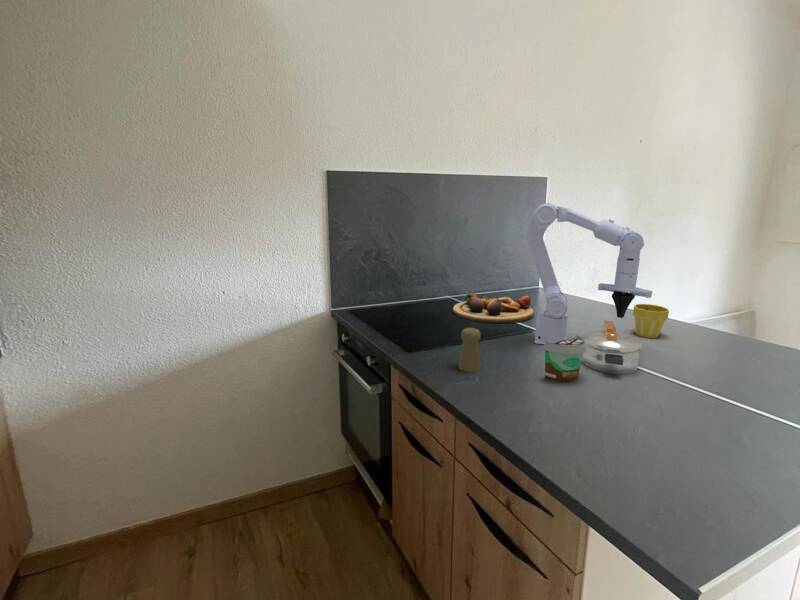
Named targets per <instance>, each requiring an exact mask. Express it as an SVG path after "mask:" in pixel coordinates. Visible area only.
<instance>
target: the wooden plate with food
mask: <svg viewBox="0 0 800 600" xmlns="http://www.w3.org/2000/svg"><path fill="white" fill-rule="evenodd" d="M530 305H531V297H530V295H523V296H519V298H517V299H516V301H514V300H513V299H512V298H511V297H508V296H503V297H502V296H501V297H497V298H490V297H486V296H485V295H481V296H480V298H479V297H478V296H477V294H476V293H475V292H471V293H466V295H465V297H464V301H462V302H457V303H456V304H454V306H453V307H452V313H453V314H454V315H456V316H457V317H460V318H463V319H464V320H469V321H474V322H479V323H487V324H488V323H490V324H491V323H492V324H506V323H507V324H509V323H519V322H524V321H527V320H529V319H531V318H532V317H533V316H534V315H535V311H534V309H533V308H532V307H531V306H530Z"/></svg>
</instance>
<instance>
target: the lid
mask: <svg viewBox="0 0 800 600" xmlns="http://www.w3.org/2000/svg"><path fill="white" fill-rule="evenodd" d="M602 327H603V330H604V331H602V330H599V331H598V330H597V331H588V332H585V333H584V334H583V337H582V338H583V339H584V340H585V343H586V344H587V345H589V346H591V347H594V348H597V349H601V350H605V351H611V352H620V353H630V352H637V351H639V350H640V351H641V350H642V346H643V342H642V341H641V340H639V339H638V338H636V337H634V336H631V335H628V334H624V333H619V332H616V331H617V329H616V326H615V324H614V321H613V320H603V325H602ZM640 351H639V352H640Z"/></svg>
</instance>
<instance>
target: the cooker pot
mask: <svg viewBox="0 0 800 600" xmlns="http://www.w3.org/2000/svg"><path fill="white" fill-rule="evenodd" d="M640 351H641V350H639V351H637V352H630V353H620V352H611V351H605V350H601V349H597V348H594V347H591V346H589V345H587V344H586V351H585V352H583V355H582V360H581V363H582V362H583V363H582V364H584V366H586V367H588V368H590V369H592V370H595V371H599V372H602V373H606V374H607V373H608V374H613V375H628V374H633V373H635V372H636V371H637V369H638V363H639V358H640V357H639V356H640Z"/></svg>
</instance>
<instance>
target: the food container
mask: <svg viewBox="0 0 800 600" xmlns="http://www.w3.org/2000/svg"><path fill="white" fill-rule="evenodd" d="M542 349H543V350H544V379H547V380H550V381H553V382H559V383H571V382H575V380H576V381H577V380H578V379H577V378H579V373H580V368H581V365H582V364H581V363H582V355H583V352H585V351H586V343H585V340H584V339H583V337H582V336H579V335H576V338H573V339H566V340H561V341H559V342H556V343H549V342H545V344H543V348H542Z"/></svg>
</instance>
